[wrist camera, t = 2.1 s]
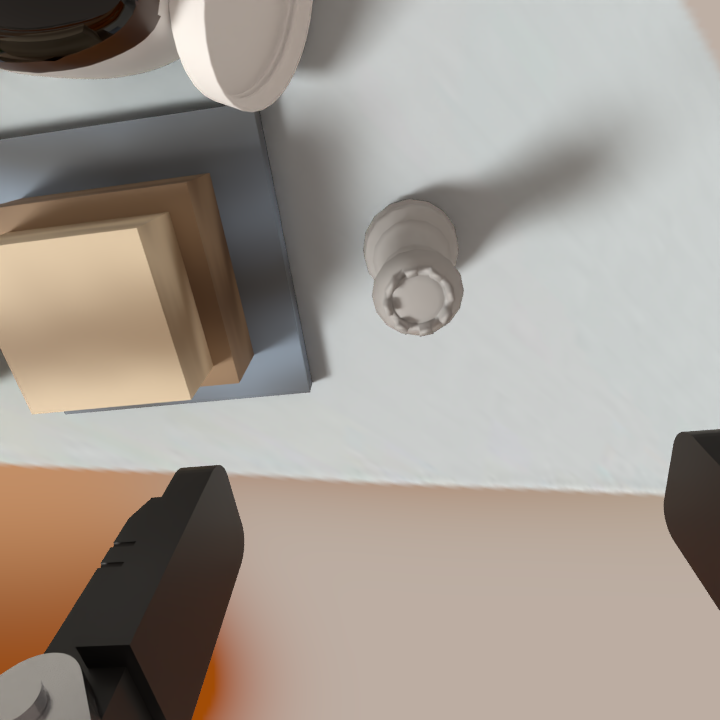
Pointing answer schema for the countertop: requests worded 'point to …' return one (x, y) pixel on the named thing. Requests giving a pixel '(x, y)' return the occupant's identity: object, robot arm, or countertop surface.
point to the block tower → (146, 265)
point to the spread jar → (161, 42)
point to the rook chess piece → (413, 267)
